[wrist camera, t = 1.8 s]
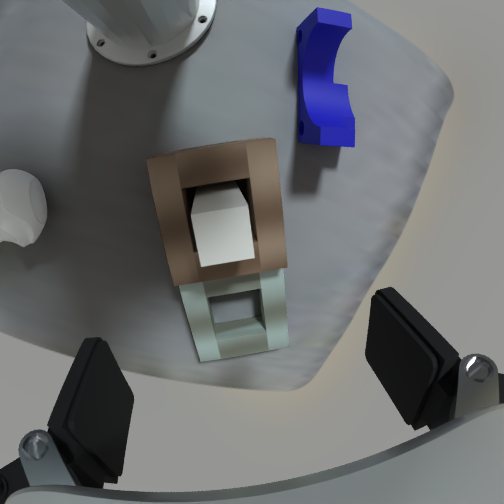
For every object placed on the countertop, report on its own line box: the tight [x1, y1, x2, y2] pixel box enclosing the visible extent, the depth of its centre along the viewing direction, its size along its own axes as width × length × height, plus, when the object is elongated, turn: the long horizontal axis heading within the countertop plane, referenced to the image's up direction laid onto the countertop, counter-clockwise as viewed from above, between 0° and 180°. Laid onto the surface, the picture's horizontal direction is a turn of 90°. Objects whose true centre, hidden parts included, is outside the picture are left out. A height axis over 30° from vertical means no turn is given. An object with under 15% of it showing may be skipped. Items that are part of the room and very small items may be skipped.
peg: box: [191, 180, 255, 267], centre depth 24 cm, size 4×4×10 cm
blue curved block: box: [297, 7, 355, 147], centre depth 23 cm, size 12×4×6 cm, turn 1°
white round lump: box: [0, 169, 47, 247], centre depth 21 cm, size 8×8×8 cm
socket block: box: [146, 138, 289, 362], centre depth 28 cm, size 22×10×5 cm, turn 7°
